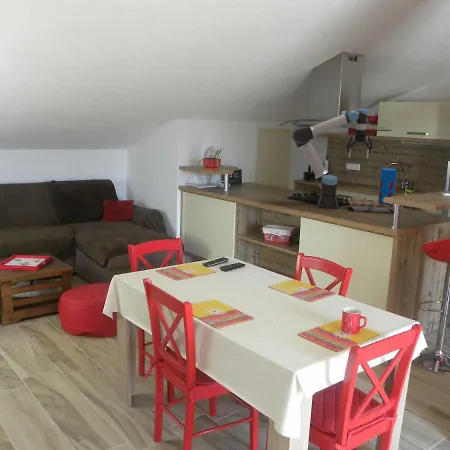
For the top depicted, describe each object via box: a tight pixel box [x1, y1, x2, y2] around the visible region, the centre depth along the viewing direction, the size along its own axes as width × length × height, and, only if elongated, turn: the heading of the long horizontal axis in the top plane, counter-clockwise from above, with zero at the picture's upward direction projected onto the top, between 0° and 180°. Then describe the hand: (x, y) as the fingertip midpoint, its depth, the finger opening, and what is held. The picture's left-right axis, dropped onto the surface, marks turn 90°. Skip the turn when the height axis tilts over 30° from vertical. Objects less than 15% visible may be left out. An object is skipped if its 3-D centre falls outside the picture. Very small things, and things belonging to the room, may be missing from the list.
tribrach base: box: [351, 206, 392, 214], centre depth 375 cm, size 26×14×4 cm, turn 84°
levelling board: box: [347, 198, 394, 209], centre depth 374 cm, size 32×16×3 cm, turn 84°
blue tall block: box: [377, 168, 398, 205], centre depth 371 cm, size 11×11×25 cm
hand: (358, 157), depth 389 cm, fingers open, 13 cm apart
